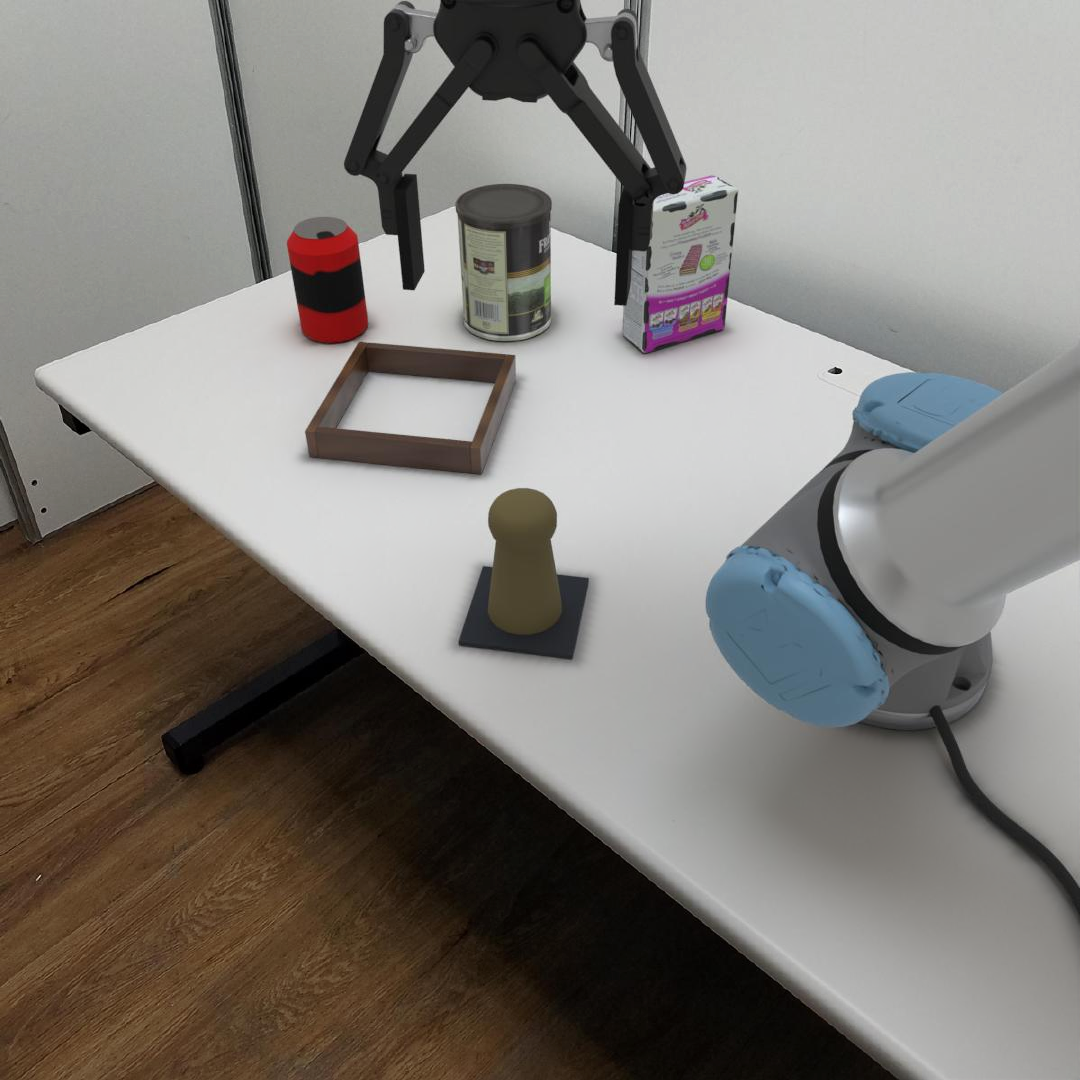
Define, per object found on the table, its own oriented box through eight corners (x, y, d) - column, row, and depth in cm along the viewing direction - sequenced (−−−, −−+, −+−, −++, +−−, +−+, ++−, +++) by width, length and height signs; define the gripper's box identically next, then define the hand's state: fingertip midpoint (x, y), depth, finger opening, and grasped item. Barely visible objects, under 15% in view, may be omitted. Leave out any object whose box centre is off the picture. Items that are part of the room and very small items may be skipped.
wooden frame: (481, 474, 100) (480, 448, 98) (309, 457, 102) (304, 431, 101) (516, 379, 113) (515, 354, 111) (362, 365, 115) (358, 341, 113)
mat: (572, 659, 82) (572, 655, 82) (458, 645, 83) (458, 641, 83) (588, 581, 89) (588, 577, 88) (483, 569, 90) (482, 565, 90)
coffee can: (552, 298, 127) (552, 182, 117) (551, 342, 119) (551, 221, 110) (465, 298, 127) (458, 182, 118) (459, 342, 119) (451, 221, 110)
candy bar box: (699, 311, 124) (713, 172, 113) (725, 330, 120) (742, 188, 110) (618, 335, 120) (624, 193, 109) (642, 355, 116) (651, 211, 106)
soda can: (311, 350, 118) (294, 248, 110) (294, 319, 123) (277, 220, 115) (377, 335, 120) (364, 234, 112) (357, 306, 125) (344, 208, 118)
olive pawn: (525, 572, 89) (523, 466, 82) (577, 608, 86) (580, 500, 79) (471, 608, 86) (464, 501, 79) (523, 646, 83) (520, 538, 75)
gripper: (755, -100, 56) (715, 274, 69) (299, -111, 59) (347, 249, 73) (753, -70, 50) (710, 331, 64) (249, -83, 53) (311, 301, 67)
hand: (516, 288), depth 68 cm, fingers open, 13 cm apart
